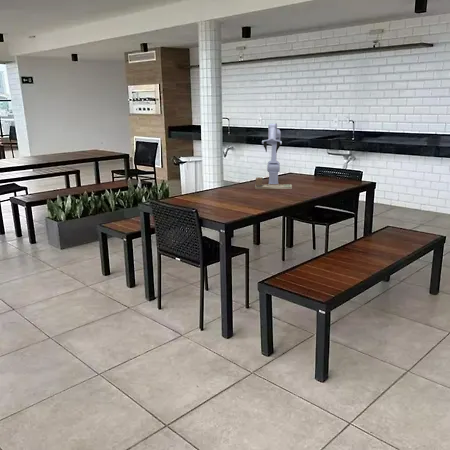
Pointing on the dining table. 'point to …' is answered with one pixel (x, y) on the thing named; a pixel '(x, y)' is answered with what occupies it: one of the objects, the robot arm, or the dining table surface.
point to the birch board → (274, 187)
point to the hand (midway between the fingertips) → (271, 151)
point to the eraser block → (259, 181)
